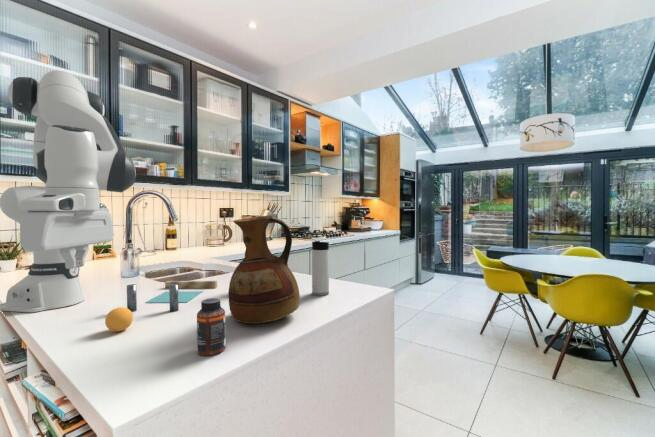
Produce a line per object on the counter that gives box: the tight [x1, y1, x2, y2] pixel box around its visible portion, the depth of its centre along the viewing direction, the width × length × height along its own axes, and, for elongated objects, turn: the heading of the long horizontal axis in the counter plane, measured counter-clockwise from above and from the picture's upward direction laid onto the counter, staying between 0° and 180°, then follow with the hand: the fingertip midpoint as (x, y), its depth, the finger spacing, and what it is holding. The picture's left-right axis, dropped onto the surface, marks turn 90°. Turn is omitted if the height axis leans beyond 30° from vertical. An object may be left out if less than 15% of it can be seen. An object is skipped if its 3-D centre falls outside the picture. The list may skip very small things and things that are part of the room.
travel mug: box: [311, 240, 330, 297], centre depth 115 cm, size 6×7×20 cm
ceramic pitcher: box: [227, 214, 301, 324], centre depth 90 cm, size 20×20×30 cm
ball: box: [104, 306, 134, 333], centre depth 81 cm, size 6×6×6 cm
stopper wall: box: [164, 280, 218, 289], centre depth 125 cm, size 20×2×2 cm, turn 91°
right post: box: [168, 284, 180, 313], centre depth 97 cm, size 2×2×8 cm
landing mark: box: [144, 290, 203, 304], centre depth 112 cm, size 14×14×1 cm
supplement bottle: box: [196, 297, 227, 356], centre depth 69 cm, size 6×6×11 cm
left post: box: [126, 283, 138, 313], centre depth 96 cm, size 2×2×8 cm
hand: (75, 267), depth 66 cm, fingers closed
